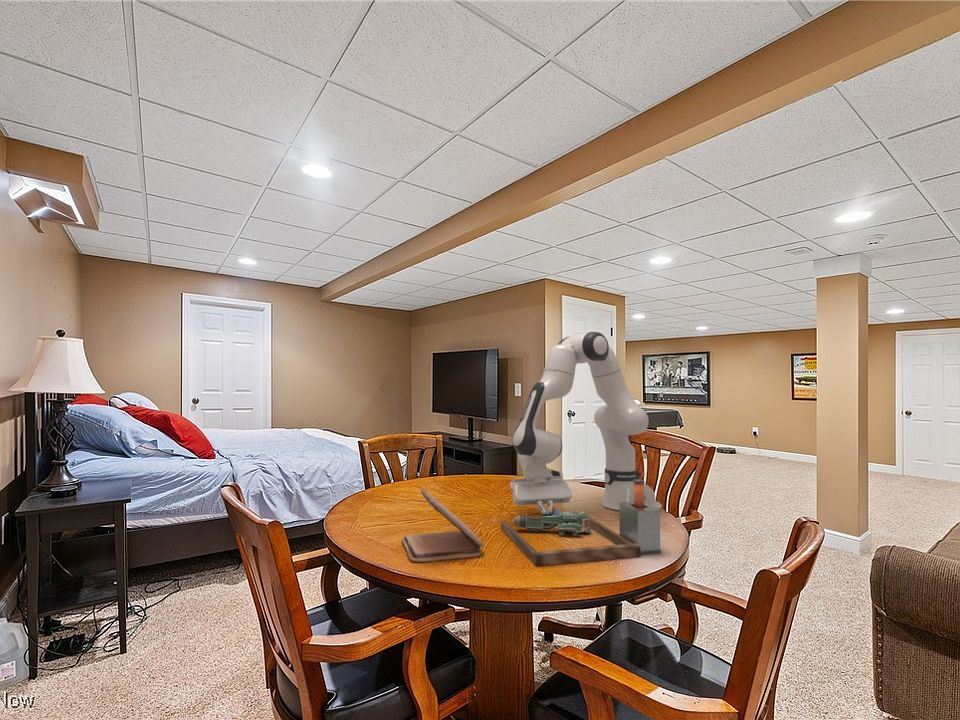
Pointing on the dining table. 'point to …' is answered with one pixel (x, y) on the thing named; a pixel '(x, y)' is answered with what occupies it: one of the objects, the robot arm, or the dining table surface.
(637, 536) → the grey holder box
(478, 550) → the case
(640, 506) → the orange and black cylinder
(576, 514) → the hoverbike
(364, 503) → the dining table surface
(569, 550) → the brown flat square frame
